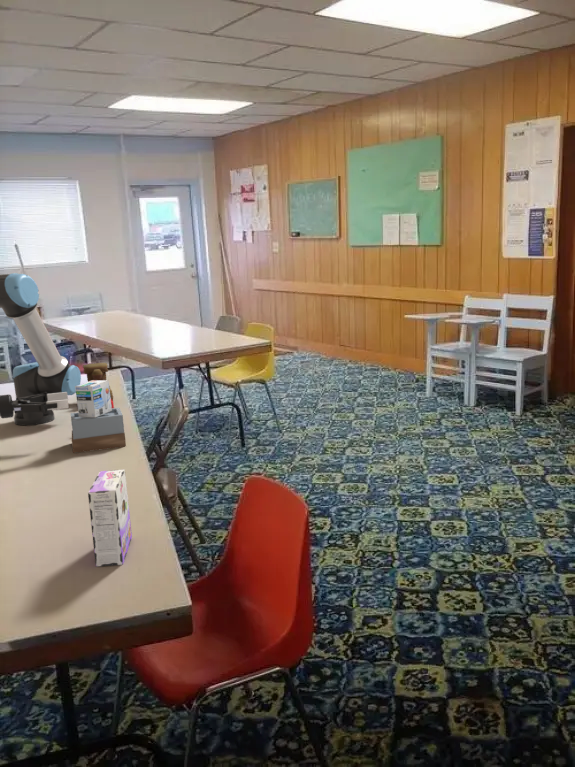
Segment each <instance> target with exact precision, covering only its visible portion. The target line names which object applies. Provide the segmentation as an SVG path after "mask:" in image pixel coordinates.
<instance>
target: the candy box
mask: <svg viewBox="0 0 575 767" xmlns="http://www.w3.org/2000/svg"><path fill="white" fill-rule="evenodd" d="M87 496H88V505H89V514H90V525H91V533H92V542H93V543H92V546H93V551H94V553H93V554H94V563H95V567H108V566H110V567H112V566H113V567H114V566H122V565H124V563H125V560H126V556H127V554H128V551H129V547H130V544H131V541H132V539H133V533H132V526H131V525H132V522H131V514H130V506H129V495H128V487H127V477H126V469H114V470H113V469H112V470H102V471H99V472H98V474H97V475H96V478H95V479H94V481H93V483H92V485H91V487H90V488H89V490H88V492H87Z"/></svg>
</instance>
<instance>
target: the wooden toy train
mask: <svg viewBox="0 0 575 767" xmlns="http://www.w3.org/2000/svg"><path fill="white" fill-rule="evenodd" d="M82 367H83V374H84V375H86V379H87V382H89V381H92V380H107V372H109V369H108V363H106V362H97V363H88V364H83V365H82ZM109 389H110V397H111V400H112V401H113V402H114V394H113V390H112V389H111V386H110V385H109Z"/></svg>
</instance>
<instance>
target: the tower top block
mask: <svg viewBox="0 0 575 767" xmlns="http://www.w3.org/2000/svg"><path fill="white" fill-rule="evenodd" d="M70 422H71V432H72V431H73V439H81V438H89V437H97V436H105V435H112V434H120V433H125V426H124V414H123V412H122V410H121V408H120V407H114V408H112V411H110V412H108V413H105V414H103V415H101V416H98V417H96V418H87V417H79V413H78V412H70Z"/></svg>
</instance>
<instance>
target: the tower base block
mask: <svg viewBox="0 0 575 767" xmlns="http://www.w3.org/2000/svg"><path fill="white" fill-rule="evenodd" d="M125 434H126V432H124V433H120V434H112V435H105V436H97V437H89V438H81V439H73V431H72V430H71V446H72V452H73V454H76V453H75V452H78V453H83V452H84V451H86V452H91V451H90V450H94V451H100V450H99V449H102V450H108V449H107V448H110V449H116V448H115V447H118V448H124V447H125V446H126V447H127V444H126V435H125ZM126 447H125V448H126ZM84 453H85V452H84Z"/></svg>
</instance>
